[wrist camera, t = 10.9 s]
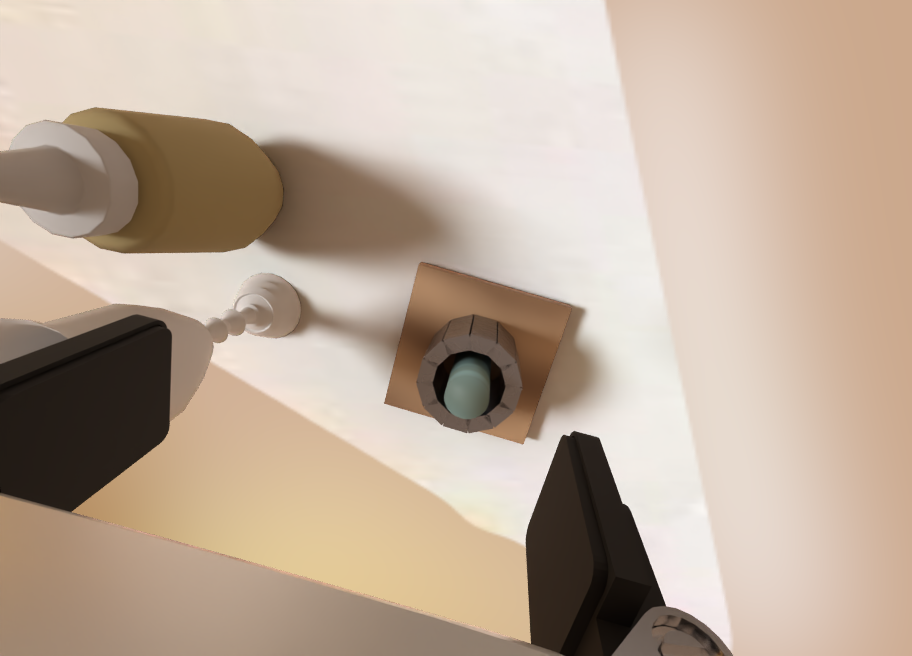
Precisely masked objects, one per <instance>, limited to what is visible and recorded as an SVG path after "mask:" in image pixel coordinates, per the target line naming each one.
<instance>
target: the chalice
mask: <svg viewBox="0 0 912 656" xmlns="http://www.w3.org/2000/svg"><path fill="white" fill-rule="evenodd" d="M135 314H139V315H143V316H146V317H150V318H154V319H157V320H161V321H163V322H164V323H165V324H166V326H167V329H169V330H170V331H171V333H172V359H171V392H170V421H171V420H173V419H174V418H175V417H176V416H178V415H179V414H180V413H182V412H183V411H184V410H185V408H186V406H187V405H188V403H189V402H190V400H191V399H192V397H193V395H194V394H195V392H196V391H197V389H198V387H199V385H200V383H201V382H202V380H203V378H204V376H205V373H206V370H207V368H208V365H209V362H210V359H211V356H212V353H213V347H214V346H213V342H215V343H221V342H224V341H225V340H226V339H227V337H228V334H230V335H233V336H238V335H241V334H242V333H243V332H244V330H245V331H246V332H248V333H250V334H252V335H255V336H261V337H267V338H279V337H283V336H286V335H287V334H289V333H290V332H292V331H293V330H294V329H295V327H296V326H297V324H298V323H299V319H300V315H301V305H300V301H299V298H298V295H297V293H296V291H295V290H294V289H293V287H292V286H291V285H290V284H289V283H288V282H287V281H285V280H284V279H283V278H281V277H279V276H276V275H274V274H270V273H260V274H256V275H253V276H251V277H250V278H248V279H247V280H246V281H245V282H244V283H243V284H242V286H241V288H240V289H239V292H238V293H237V295H236V297H235V299H234V302H233V309H228V310H226V311H224V312H223V313H222V315H221V319H219V318H215V317H212V318H209V319H208V320H206V322H205V324H204V325H203V324H202V323H200V322H199V321H197V320H195V319H192V318H190V317H187V316H183V315H180V314H177V313H174V312H171V311H168V310H165V309H162V308H154V307H146V306H139V305H127V304H113V305H109V306H106V307H101V308H98V309H94V310H90V311H86V312H83V313H79V314H75V315H71V316H68V317H64V318H60V319H56V320H53V321H49V322H45V323H41V322H36V321H31V320H21V319H20V320H19V319H5V318H1V319H0V364H2V363H4V362H7V361H10V360H12V359H15V358H18V357H21V356H23V355H26V354H29V353H31V352H34V351H37V350H39V349H42V348H45V347H48V346H50V345H53V344H56V343H58V342H61V341H64V340H66V339H69V338H72V337H75V336H77V335H80V334H83V333H85V332H88V331H91V330H93V329H96V328H99V327H102V326H104V325H107V324H110V323H112V322H115V321H118V320H120V319H123V318H126V317H129V316H131V315H135Z"/></svg>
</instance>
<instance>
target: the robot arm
mask: <svg viewBox="0 0 912 656" xmlns="http://www.w3.org/2000/svg"><path fill="white" fill-rule="evenodd" d="M171 359H172V333H171V331H170V330H169V329H167V326H166V324H165V323H164V322H163V321H161V320H157V319H154V318H150V317H146V316H143V315H139V314H135V315H131V316H129V317H126V318H123V319H120V320H118V321H115V322H112V323H110V324H107V325H104V326H102V327H99V328H96V329H93V330H91V331H88V332H85V333H83V334H80V335H77V336H75V337H72V338H69V339H66V340H64V341H61V342H58V343H56V344H53V345H50V346H48V347H45V348H42V349H39V350H37V351H34V352H31V353H29V354H26V355H23V356H21V357H18V358H15V359H12V360H10V361H7V362H4V363H2V364H0V656H733V655H732V653H731V651H730V650H729V649H728V648H727V646H726V645H725V644H724V643H723V641H722V640H721V639H720V638H719V637H718V636H717V635H716V634H715V633H714V632H713V631H712V630H711V629H710V628H708V627H707V626H706V625H705V624H704V623H702V622H701V621H699V620H698V619H696V618H695V617H693V616H692V615H690V614H688V613H685V612H683V611H681V610H679V609H676V608H671V607H666V605H665V602H664V599H663V596H662V594H661V591H660V588H659V586H658V583H657V580H656V578H655V575H654V572H653V570H652V567H651V564H650V561H649V559H648V556H647V553H646V551H645V548H644V545H643V543H642V540H641V537H640V535H639V532H638V529H637V527H636V524H635V521H634V518H633V516H632V513H631V511H630V509H629V507H628V506H626V505H625V504H622V501H621V498H620V495H619V492H618V490H617V487H616V484H615V481H614V478H613V475H612V473H611V470H610V467H609V464H608V461H607V459H606V456H605V453H604V450H603V447H602V444H601V442H600V439H599V438H598V437H594V436H591V435H587V434H583V433H579V432H576V431H573V432H572V433H571V435H570V436H566V435H563V436H562V437H561V439H560V442H559V444H558V447H557V450H556V453H555V455H554V458H553V461H552V463H551V466H550V469H549V471H548V474H547V477H546V479H545V482H544V485H543V487H542V490H541V493H540V495H539V498H538V501H537V504H536V506H535V509H534V512H533V514H532V517H531V520H530V522H529V525H528V529H527V534H526V557H527V574H528V595H529V612H530V613H529V614H530V633H531V644H530V643H527V642H524V641H520V640H518V639H514V638H511V637H508V636H505V635H502V634H499V633H496V632H493V631H490V630H487V629H484V628H481V627H477V626H473V625H470V624H466V623H462V622H459V621H456V620H452V619H449V618H446V617H442V616H439V615H435V614H432V613H429V612H425V611H422V610H418V609H414V608H411V607H408V606H404V605H400V604H397V603H394V602H390V601H386V600H383V599H380V598H376V597H373V596H369V595H366V594H362V593H359V592H355V591H352V590H348V589H344V588H341V587H338V586H334V585H331V584H327V583H323V582H320V581H316V580H313V579H310V578H306V577H303V576H299V575H295V574H292V573H288V572H285V571H282V570H278V569H274V568H271V567H267V566H264V565H260V564H257V563H253V562H249V561H246V560H242V559H239V558H235V557H231V556H228V555H224V554H220V553H217V552H214V551H210V550H206V549H203V548H199V547H195V546H192V545H189V544H185V543H181V542H178V541H174V540H171V539H167V538H163V537H160V536H156V535H153V534H148V533H145V532H142V531H138V530H134V529H131V528H127V527H124V526H120V525H116V524H113V523H109V522H105V521H101V520H98V519H94V518H91V517H87V516H83V515H80V514H76V513H72V511H73V510H74V509H76V508H77V507H78V506H79V505H81V504H82V503H83V502H84V501H86V500H87V499H88V498H90V497H91V496H92V495H93V494H95V493H96V492H98V491H99V490H100V489H101V488H103V487H104V486H105V485H107V484H108V483H109V482H111V481H112V480H113V479H114V478H116V477H117V476H118V475H120V474H121V473H122V472H124V471H125V470H126V469H127V468H129V467H130V466H131V465H132V464H134V463H135V462H136V461H138V460H139V459H140V458H142V457H143V456H144V455H146V454H147V453H148V452H149V451H151V450H152V449H153V448H155V447H156V446H157V445H159V444H160V443H161V442H162V441H163V440H164V438H165V437H166V435H167V434H168V431H169V424H170V392H171Z"/></svg>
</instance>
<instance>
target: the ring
mask: <svg viewBox="0 0 912 656" xmlns="http://www.w3.org/2000/svg"><path fill="white" fill-rule="evenodd" d="M468 350H470V351H474V352H477V353H480V354H484V355H487V356H489V357H490V358H491V359H492V360H493V361H494V362H495V363H496V364H497V365H498V366H499V367H500V368H501V369H502V370H501V373H500V375H499V376H498V377H496V378H495V379H494V380H493V381H492V382H491V383H490V393H489V404H488V407H487V409H486V410H485V412H484V413H483V414H481V415H480V416H478V417H476V418H473V419H462V418H459V417H457V416H455V415H453V414H452V413H451V412H450V411H449V410H448V408H447V407H446V404H445V401H444V394H445V390H446V387H447V383H448V380H449V377H450V375H449V374H448V373H447V372H446V369H445V366H444V362H443V361H444V360H445V359H446V358H447V357H448V356H449V355H450V354H454V353H459V352H464V351H468ZM416 382H417V383H416V385H417V388H418V391H419V395H420V398H421V402H422V405H423V406H424V409H425V410H426V411H428V412H429V413H430V414H431V415H432V416H433V417H434V418H435V419H436V420H437V421H438V422H439V423H440V424H441V425H442V424H443V423H444V424H443V426H445V427H448V428H452V429H455V430H458V431H462V432H465V433H467V431H468V432H469V433H472V432H478V431H483V430H489V429H493V427H494V428H495V427H496V426H498V425H499V424H500V423H501V422H503V421H504V420H505V419H506V418H507V417H509V416H510V415H511V414H512V413H514V412H513V411H515V408H516V405H517V403H518V400H519V397H520V394H521V391H522V378H521V370H520V362H519V356H518V352H517V348H516V344H515V339H514V337H513V336H512V335H511V334H510V333H509V332H508V331H507V330H506V329H505V328H504V327H503V326H502V325H501V324H500V323H499V322H497V321H496V320H493V319H490V318H486V317H483V316H479V315H476V314H475V316H474V314H472V315H468V316H463V317H459V318H455V319H452V320H450V321H449V322H448V323H446V324H445V325H444V326H443V327H442V328H441V329H440V330H439V331H438V332H437V333H436V334H435V335H434V337H433V339H432V341H431V343H430V345H429V347H428V349H427V351H426V353H425V355H424V357H423V359H422V363H421V366H420V370H419V373H418V377H417V381H416Z"/></svg>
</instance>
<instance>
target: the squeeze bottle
mask: <svg viewBox="0 0 912 656" xmlns="http://www.w3.org/2000/svg"><path fill="white" fill-rule="evenodd" d="M283 190H284V189H283V185H282V182H281V178H280V175H279V172H278V171H277V169H276V168H275V166H274V165H273V164H272V162H271V161H270V159H269V158H268V157H267V156H266V155H265V153H264V152H263V151H262V150H261V149H260V148H259V147H258V146H257V144H256V143H255V142H254V141H253V140H252V139H251V138H249V137H248V136H246V135H245V134H243V133H242V132H240V131H239V130H237V129H236V128H235V127H233V126H232V125H230V124H226V123H221V122H216V121H211V120H206V119H198V118H189V117H180V116H171V115H161V114H152V113H143V112H134V111H124V110H115V109H106V108H97V107H95V108H91V109H87V110H84V111H80V112H77V113H73V114H71V115H70V116H69V117H68V118H67V119H65V120H64V121H63V122H62V123H60V122H55V121H49V120H43V121H39V122H36V123H32V124H29V125H26V126H25V127H24V128H23V129H22V130H21V131H20V132H19V133H18V134H17V135H16V136H15V137H14V138H13V139H12V142H11V145H10V148H9V150H8V151H0V202H1V203H6V204H11V205H16V206H20V207H21V208H22V209H23V210H24V212H25V213H26V214H27V215H28V216H29V218H30V219H31V220H32V221H33V222H34V223H36V224H37V225H39V226H41V227H42V228H44V229H45V230H47V231H48V232H50V233H52V234H54V235H59V236H64V237H69V238H82V237H83V238H84V239H86V240H88V241H89V242H91V243H92V244H94V245H95V246H97V247H99V248H101V249H106V250H111V251H115V252H120V253H199V252H227V251H232V250H236V249H241V248H245V247H247V246H248V245H249V244H251V243H252V242H253V241H254V240H256V239H257V238H258V237H260V236H261V235H262V234H263V233H264V232H265V231H266V230H267V229H268V227H269V226H270V225H271V224H272V223H273V222H274V220H275V219H276V217H277V215H278V213H279V211H280V209H281V207H282V203H283Z"/></svg>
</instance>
